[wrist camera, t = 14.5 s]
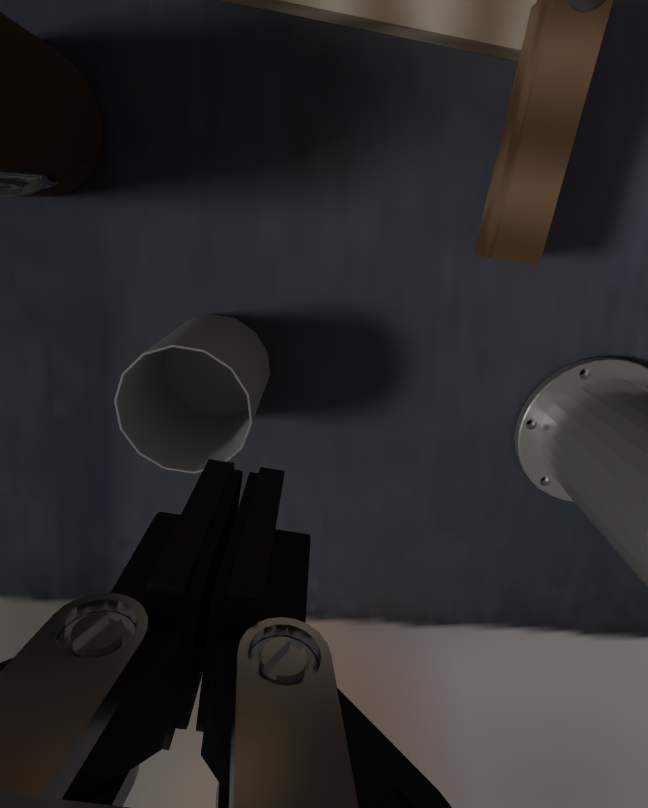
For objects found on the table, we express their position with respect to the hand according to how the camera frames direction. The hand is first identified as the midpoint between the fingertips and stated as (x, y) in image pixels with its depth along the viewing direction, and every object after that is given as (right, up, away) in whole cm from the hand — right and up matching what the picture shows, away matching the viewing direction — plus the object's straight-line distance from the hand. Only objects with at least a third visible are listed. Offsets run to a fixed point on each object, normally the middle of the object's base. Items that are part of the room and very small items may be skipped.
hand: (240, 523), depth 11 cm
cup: (-7, +6, +29) cm, 31 cm away
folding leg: (+15, +20, +21) cm, 32 cm away
